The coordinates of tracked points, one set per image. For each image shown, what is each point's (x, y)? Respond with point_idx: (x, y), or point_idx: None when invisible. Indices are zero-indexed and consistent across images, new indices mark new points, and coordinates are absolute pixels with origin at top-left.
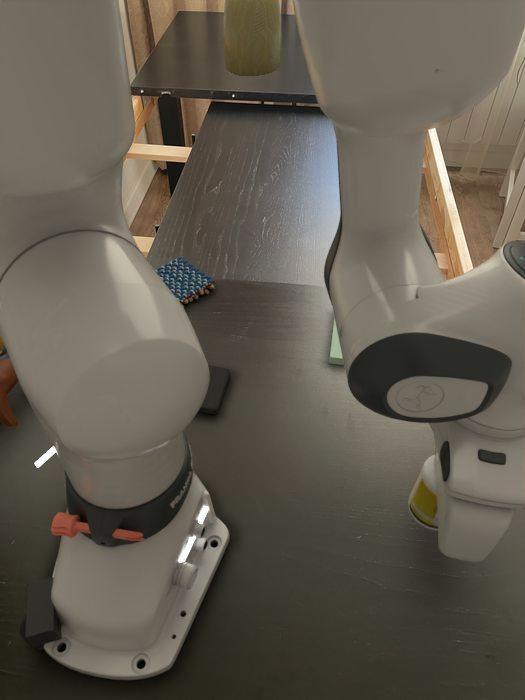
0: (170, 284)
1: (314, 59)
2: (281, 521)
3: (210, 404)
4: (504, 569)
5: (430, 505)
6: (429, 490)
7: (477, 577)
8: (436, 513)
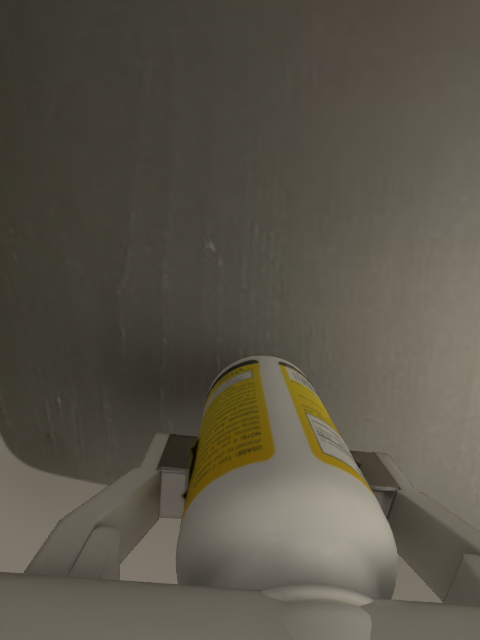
0: None
1: None
2: (229, 50)
3: None
4: None
5: (205, 437)
6: (215, 476)
7: None
8: (154, 464)
